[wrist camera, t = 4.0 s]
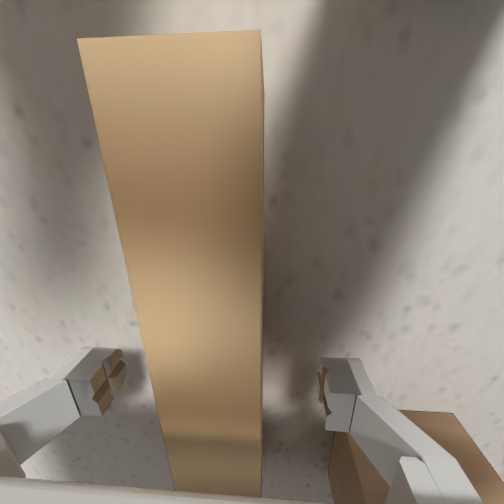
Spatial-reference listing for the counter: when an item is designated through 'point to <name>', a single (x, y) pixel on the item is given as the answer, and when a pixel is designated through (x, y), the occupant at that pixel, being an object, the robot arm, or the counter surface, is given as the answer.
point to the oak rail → (191, 235)
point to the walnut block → (374, 485)
